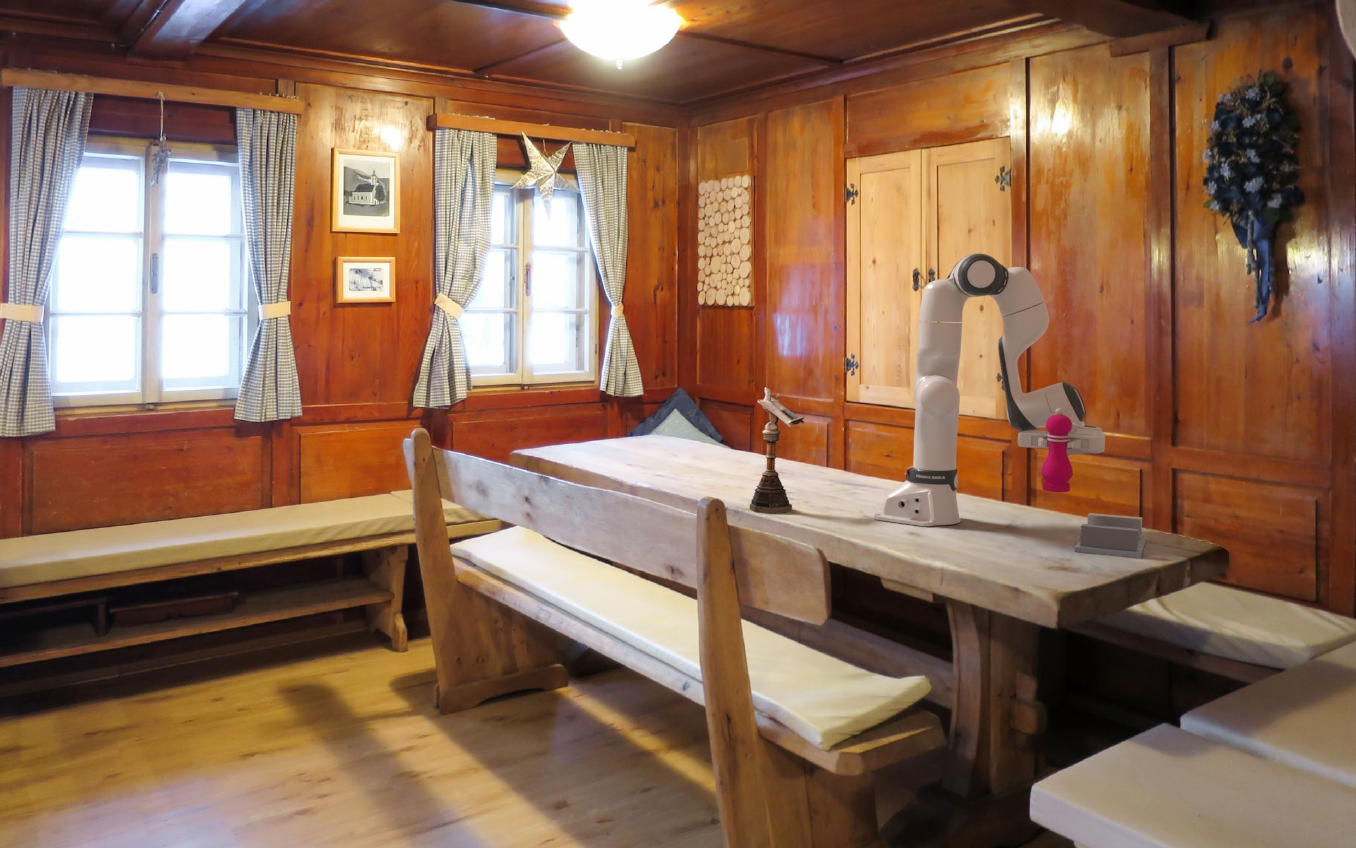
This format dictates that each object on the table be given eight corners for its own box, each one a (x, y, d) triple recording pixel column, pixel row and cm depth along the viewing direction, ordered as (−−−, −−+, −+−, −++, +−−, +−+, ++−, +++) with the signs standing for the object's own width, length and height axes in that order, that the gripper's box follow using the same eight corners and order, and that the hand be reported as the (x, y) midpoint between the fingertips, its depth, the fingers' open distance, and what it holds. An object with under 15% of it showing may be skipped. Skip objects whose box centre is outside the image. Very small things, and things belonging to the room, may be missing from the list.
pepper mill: (1041, 492, 244) (1044, 409, 242) (1039, 486, 251) (1042, 406, 249) (1073, 493, 242) (1077, 410, 240) (1070, 488, 249) (1074, 406, 247)
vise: (1074, 551, 236) (1076, 526, 236) (1084, 535, 253) (1085, 512, 253) (1141, 558, 230) (1142, 532, 229) (1145, 541, 247) (1147, 517, 246)
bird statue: (815, 508, 289) (817, 385, 285) (798, 516, 277) (800, 388, 274) (762, 503, 297) (763, 383, 293) (743, 511, 285) (744, 386, 282)
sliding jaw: (1087, 534, 249) (1087, 514, 249) (1088, 532, 251) (1088, 513, 251) (1140, 539, 244) (1141, 519, 243) (1141, 537, 246) (1142, 517, 245)
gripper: (1022, 423, 261) (1012, 429, 249) (1108, 427, 252) (1103, 433, 239) (1021, 447, 262) (1011, 454, 250) (1107, 453, 252) (1101, 460, 240)
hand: (1057, 444), depth 244 cm, fingers closed on pepper mill, 5 cm apart
